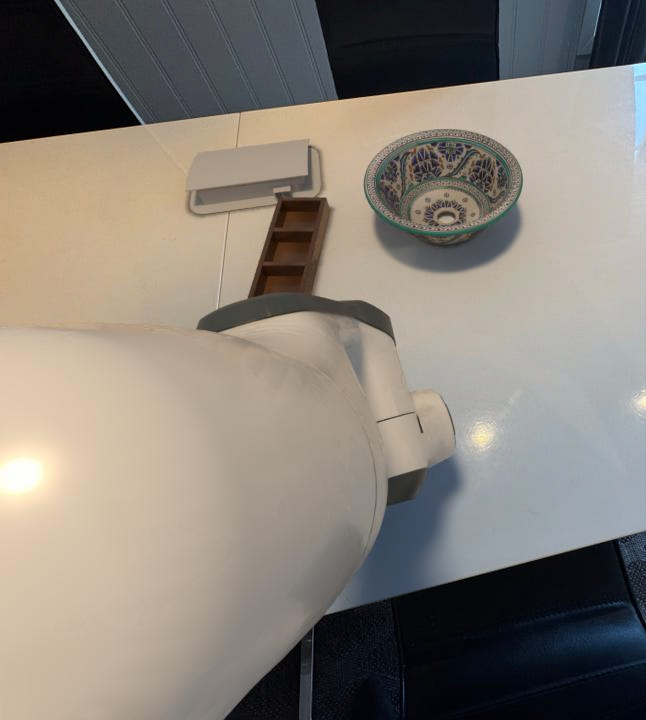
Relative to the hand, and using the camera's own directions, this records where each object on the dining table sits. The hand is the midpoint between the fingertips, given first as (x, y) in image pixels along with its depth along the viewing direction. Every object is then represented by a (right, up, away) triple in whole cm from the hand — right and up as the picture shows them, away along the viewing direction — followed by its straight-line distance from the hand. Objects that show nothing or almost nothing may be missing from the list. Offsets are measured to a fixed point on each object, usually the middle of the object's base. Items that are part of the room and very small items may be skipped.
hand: (151, 514), depth 49 cm
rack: (+1, +25, +31) cm, 40 cm away
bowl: (+26, +39, +39) cm, 61 cm away
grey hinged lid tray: (-10, +48, +45) cm, 67 cm away
